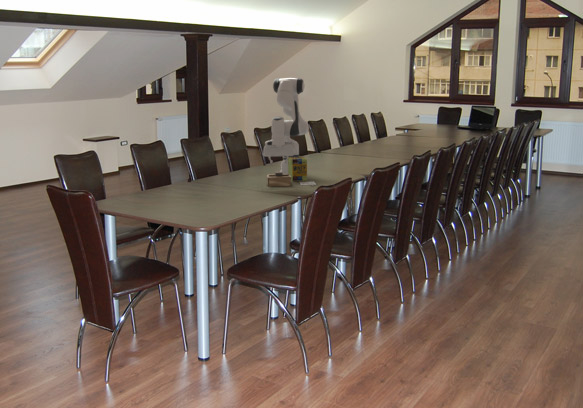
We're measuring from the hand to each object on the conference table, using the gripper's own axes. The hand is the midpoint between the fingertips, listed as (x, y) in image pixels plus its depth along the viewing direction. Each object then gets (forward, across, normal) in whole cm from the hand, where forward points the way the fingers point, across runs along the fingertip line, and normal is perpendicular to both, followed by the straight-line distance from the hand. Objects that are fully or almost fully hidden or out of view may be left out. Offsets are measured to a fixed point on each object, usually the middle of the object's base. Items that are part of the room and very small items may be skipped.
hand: (278, 163), depth 425 cm
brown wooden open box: (+15, 0, 0) cm, 15 cm away
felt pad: (+15, -19, 0) cm, 24 cm away
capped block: (+14, 0, 0) cm, 14 cm away
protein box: (+15, -14, -19) cm, 28 cm away
